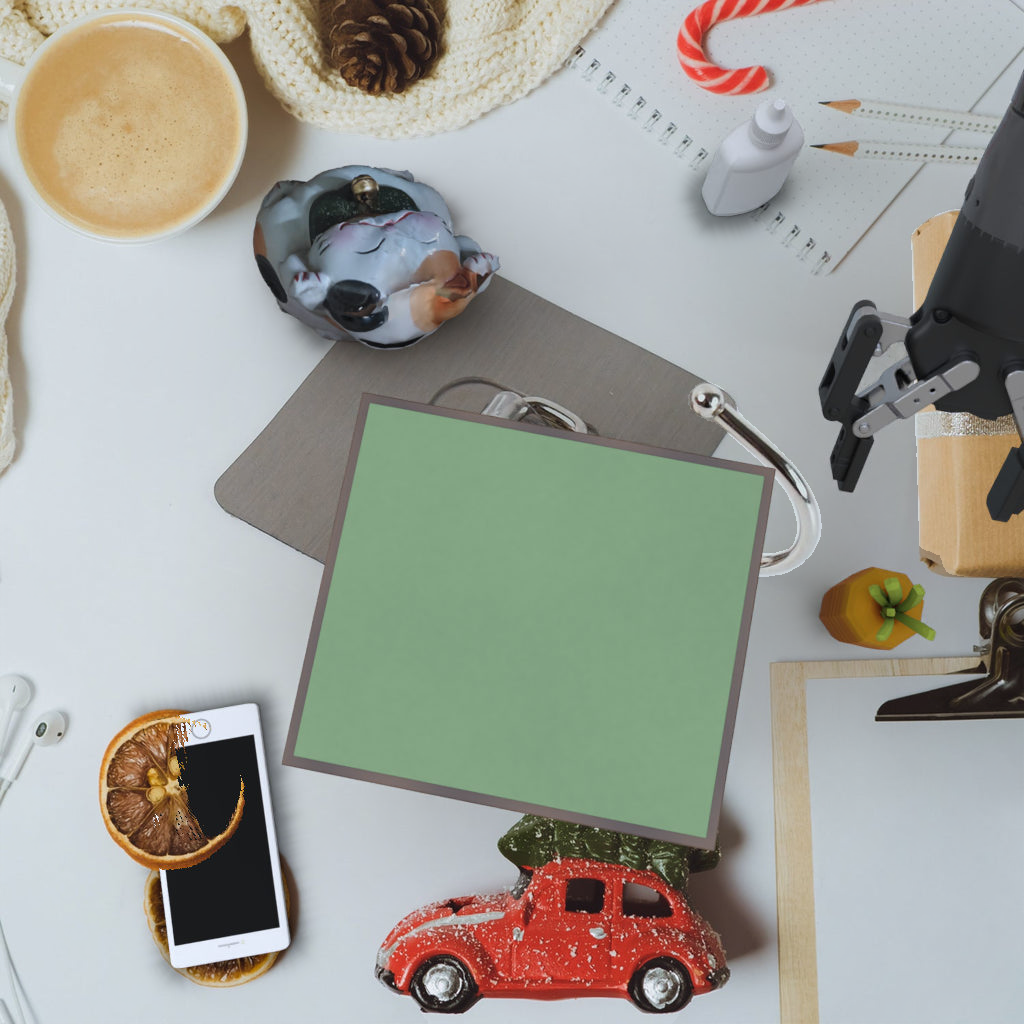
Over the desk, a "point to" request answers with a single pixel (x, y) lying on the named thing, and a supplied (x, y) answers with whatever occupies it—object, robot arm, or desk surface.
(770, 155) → the eye dropper bottle
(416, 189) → the lucky cat figurine
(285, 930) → the cell phone
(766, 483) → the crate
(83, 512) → the desk surface
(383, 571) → the cloth
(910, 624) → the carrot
